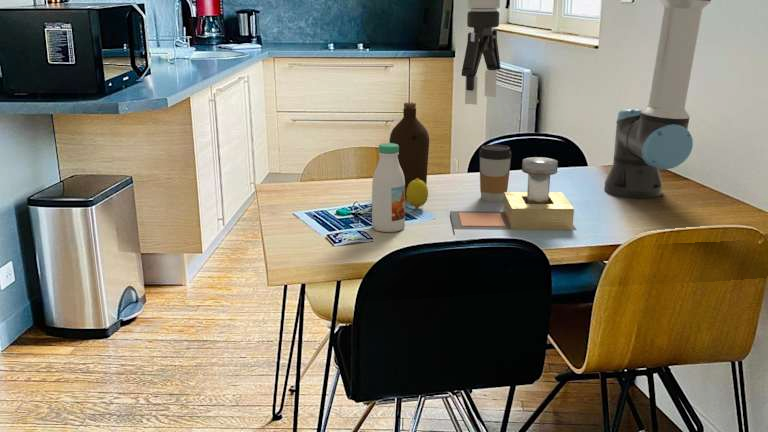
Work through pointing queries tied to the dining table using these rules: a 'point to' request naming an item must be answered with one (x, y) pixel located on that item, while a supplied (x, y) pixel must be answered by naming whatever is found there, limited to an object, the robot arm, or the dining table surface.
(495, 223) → the base mat
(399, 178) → the milk bottle
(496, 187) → the coffee cup
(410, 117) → the olive oil
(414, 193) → the lemon
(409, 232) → the dining table surface
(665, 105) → the robot arm
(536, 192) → the steel peg
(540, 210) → the light wooden flat block
